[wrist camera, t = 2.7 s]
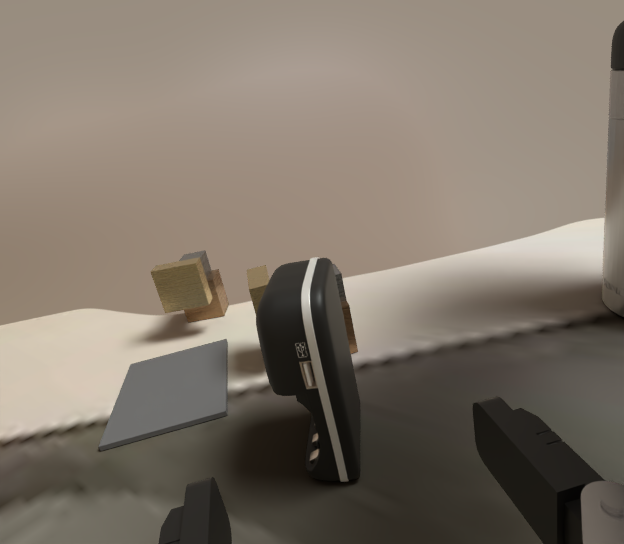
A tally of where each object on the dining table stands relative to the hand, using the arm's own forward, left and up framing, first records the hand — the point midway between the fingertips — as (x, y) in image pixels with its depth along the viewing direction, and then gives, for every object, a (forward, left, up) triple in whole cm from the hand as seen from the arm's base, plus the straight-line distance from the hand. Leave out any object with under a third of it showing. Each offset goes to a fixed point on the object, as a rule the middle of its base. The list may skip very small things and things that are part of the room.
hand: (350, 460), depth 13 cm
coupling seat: (+11, -23, -9) cm, 27 cm away
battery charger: (0, -12, -10) cm, 15 cm away
